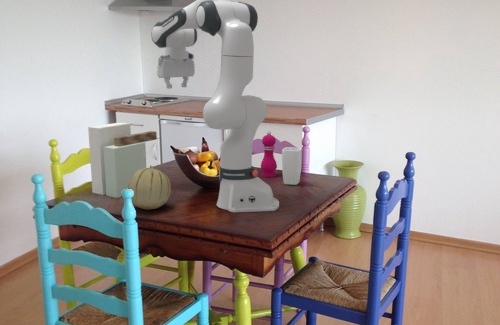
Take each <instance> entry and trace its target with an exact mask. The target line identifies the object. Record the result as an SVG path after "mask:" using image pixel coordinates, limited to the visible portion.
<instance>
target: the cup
mask: <svg viewBox="0 0 500 325" xmlns="http://www.w3.org/2000/svg"><path fill="white" fill-rule="evenodd" d="M302 150H303V149H302V147H291V146H290V147H289V146H288V147H287V146H286V147H284V148H282V150H281V168H282V169H281V170H282V179H283V180H282V182H283V184H284V185H286V186H297V185H298V184H299V183H300V179H301V172H302V158H303V156H302Z"/></svg>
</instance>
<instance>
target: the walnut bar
mask: <svg viewBox="0 0 500 325" xmlns="http://www.w3.org/2000/svg"><path fill="white" fill-rule="evenodd" d="M157 134H158V133H157V131H155V130H154V131H151V130H150V131H145V132H140V133H133V134H131V135H127V136H121V137H115V138H114V144H115V146H118V147H121V146H126V145H131V144H136V143H141V142H145V143H146V142H150V141H155V140H157V139H158V138H157V136H158V135H157Z"/></svg>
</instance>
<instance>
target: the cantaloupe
mask: <svg viewBox="0 0 500 325" xmlns="http://www.w3.org/2000/svg"><path fill="white" fill-rule="evenodd" d="M128 189H132V190H133V191H134V197H133V198H132V201H131V202H132V204H134V205H135V206H136V207H138V208H140V209H142V210H148V211H149V210H155V209H159V208H160V207H162V206H163V205H165V204H166V202H167V201H168V200H169V197H170V195H171V190H172V187H171V182H170V179H169V177H168V176H167V175H166V174H165V173H164V172H163V171H161V170H159V169H157V168H155V167H154V166H152V165H149V167H146V168H144V169H140V170H138V171H137V172H136V173H135V174H134V175H133V176H132V177H131V179H130V181H129V184H128Z"/></svg>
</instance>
